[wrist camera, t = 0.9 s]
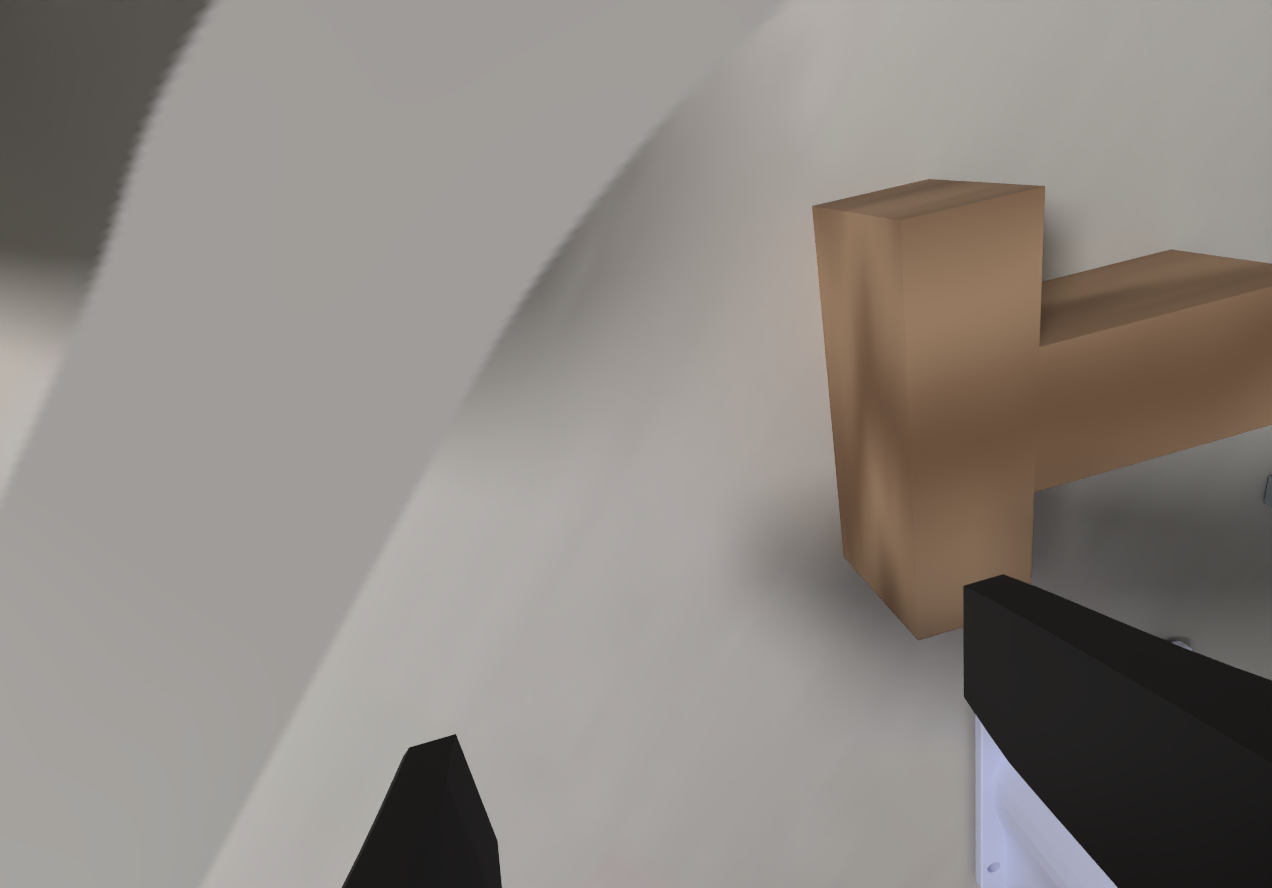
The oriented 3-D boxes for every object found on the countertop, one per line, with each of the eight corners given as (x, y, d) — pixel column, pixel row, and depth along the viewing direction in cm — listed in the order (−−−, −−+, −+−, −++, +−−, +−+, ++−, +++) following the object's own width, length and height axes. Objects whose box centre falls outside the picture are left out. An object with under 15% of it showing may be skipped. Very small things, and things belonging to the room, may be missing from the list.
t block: (1146, 469, 22) (1276, 531, 19) (843, 556, 21) (918, 640, 18) (1183, 119, 18) (1358, 112, 15) (811, 205, 17) (900, 220, 14)
